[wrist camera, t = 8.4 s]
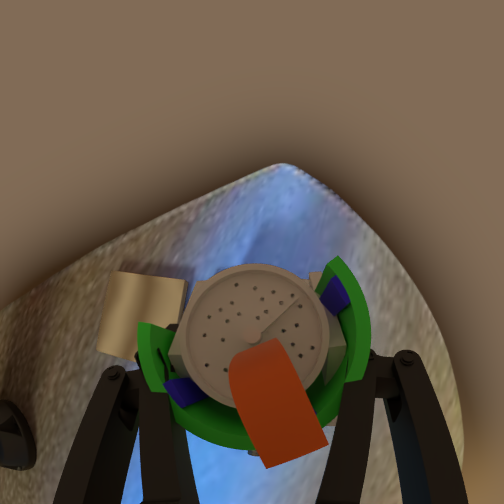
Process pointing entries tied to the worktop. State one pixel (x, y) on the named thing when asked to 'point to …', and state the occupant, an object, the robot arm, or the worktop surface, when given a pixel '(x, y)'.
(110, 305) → the board
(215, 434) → the green-shelled ribbed roller
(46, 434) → the worktop surface
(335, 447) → the robot arm
